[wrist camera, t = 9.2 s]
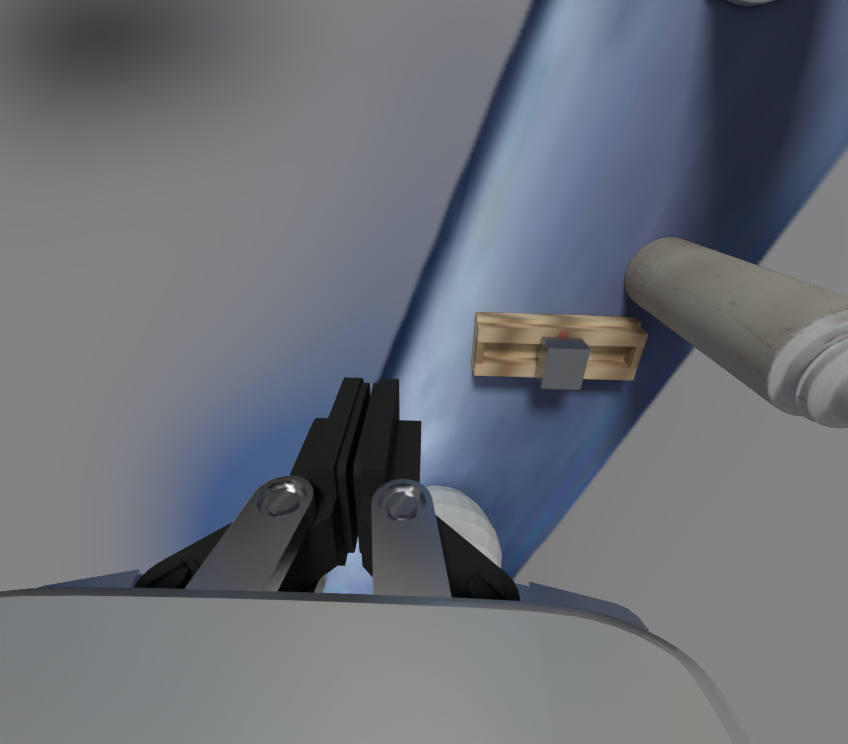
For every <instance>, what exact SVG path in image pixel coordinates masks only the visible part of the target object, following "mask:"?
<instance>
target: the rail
mask: <svg viewBox="0 0 848 744" xmlns="http://www.w3.org/2000/svg"><path fill="white" fill-rule="evenodd" d="M640 327H641V322H639V321H638V320H637V319H636V318H634V317H618V316H585V315H552V314H519V313H486V312H476V316H475V326H474V337H473V348H472V358H471V366H472V371H473V372H474V376H506V377H535V371H536V366H537V360H538V359H537V357H536V354H537V348H538V344H541V339H542V337H573V338H582V339H583V340H584V342H585V343H586V344H587V345H588V347H589V348H590V349H591V350H590V354H589V358H588V362H587V366H586V370H585V374H584V378H583V379H603V380H634V377H635V374H636V371H637V368H638V365H639V361H640V358H641V355H642V352H643V349H644V346H645V343H646V340H647V337H648V333H646V332H645V331H644V330H643V329H642V328H640Z"/></svg>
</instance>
